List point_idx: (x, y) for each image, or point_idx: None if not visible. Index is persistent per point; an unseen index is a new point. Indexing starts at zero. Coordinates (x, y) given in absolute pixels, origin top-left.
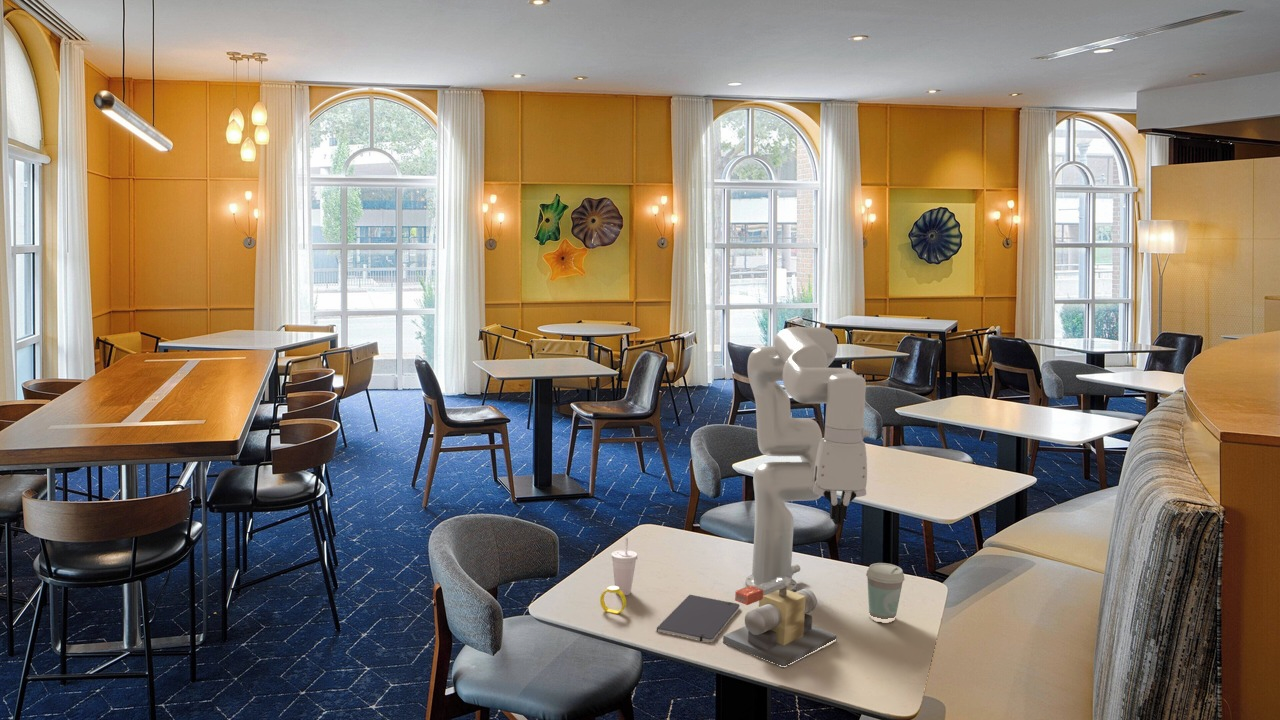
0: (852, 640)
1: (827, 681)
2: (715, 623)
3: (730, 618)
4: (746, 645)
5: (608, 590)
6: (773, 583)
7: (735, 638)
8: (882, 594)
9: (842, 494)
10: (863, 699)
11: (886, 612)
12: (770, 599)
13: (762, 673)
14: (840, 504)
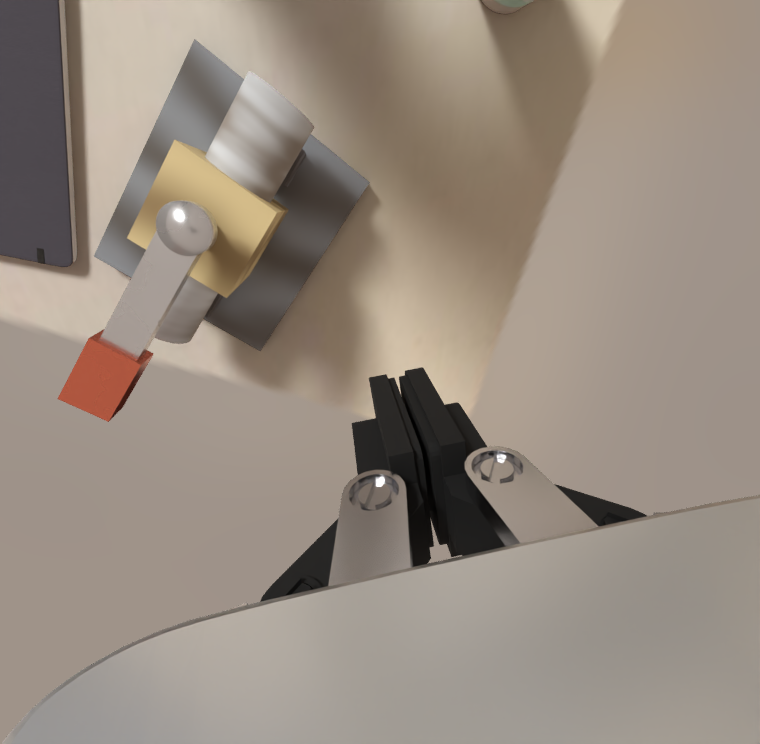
0: (406, 164)
1: (345, 373)
2: (40, 163)
3: (66, 88)
4: None
5: None
6: (158, 282)
7: (128, 265)
8: None
9: (504, 539)
10: None
11: (523, 3)
12: None
13: (225, 375)
14: (447, 517)
